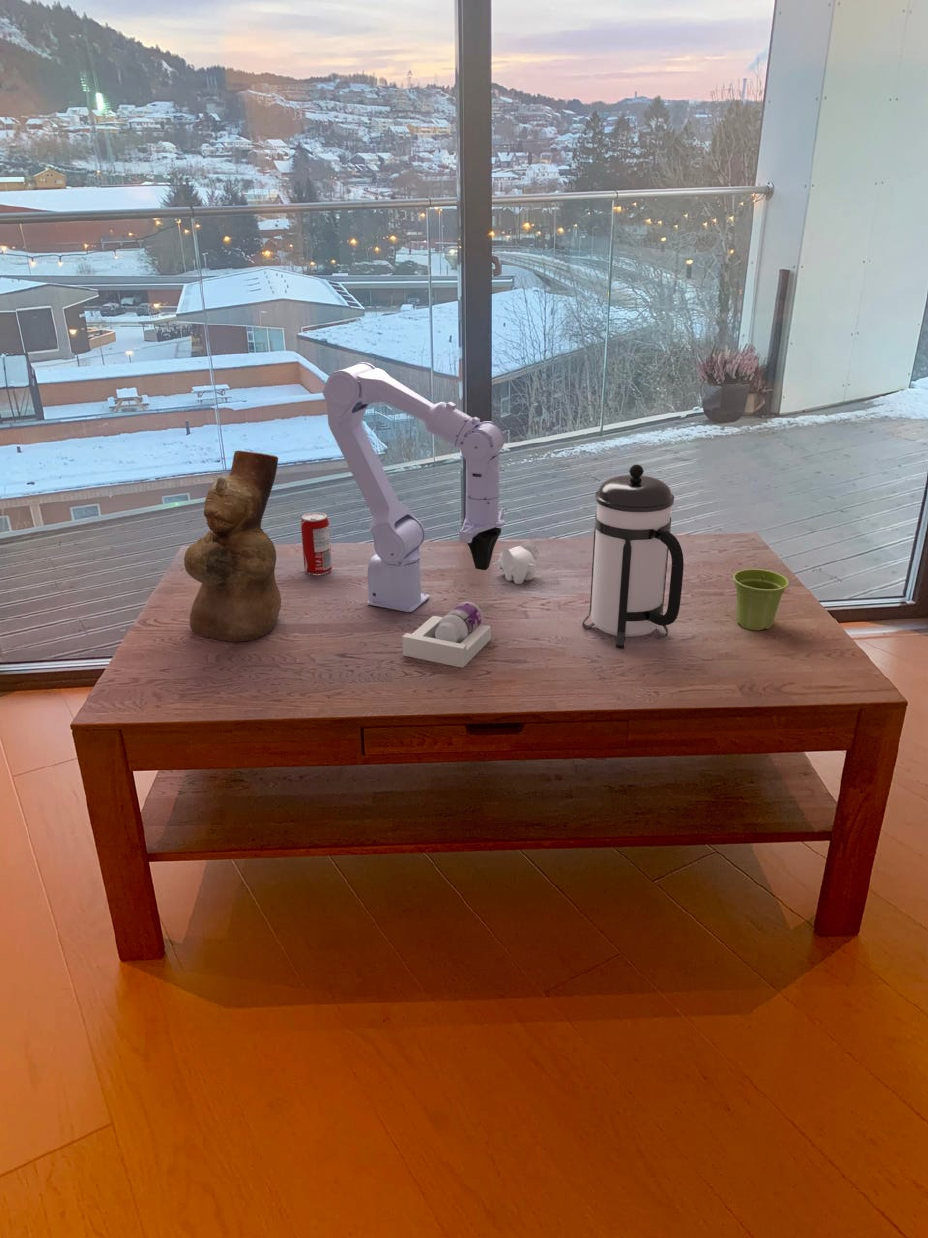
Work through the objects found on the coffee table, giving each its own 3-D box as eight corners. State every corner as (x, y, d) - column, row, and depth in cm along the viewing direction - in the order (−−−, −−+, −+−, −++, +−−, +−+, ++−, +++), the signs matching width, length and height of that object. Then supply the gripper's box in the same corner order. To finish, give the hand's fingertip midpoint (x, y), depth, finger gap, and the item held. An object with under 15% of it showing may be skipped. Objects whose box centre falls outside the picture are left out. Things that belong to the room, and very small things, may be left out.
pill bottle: (482, 632, 165) (457, 655, 157) (455, 623, 167) (429, 646, 159) (485, 605, 162) (461, 627, 155) (458, 596, 164) (432, 617, 156)
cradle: (403, 655, 158) (402, 636, 156) (433, 628, 167) (433, 610, 166) (462, 667, 154) (462, 648, 152) (490, 639, 163) (490, 621, 162)
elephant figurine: (510, 566, 194) (510, 533, 191) (546, 578, 188) (547, 545, 185) (484, 576, 189) (485, 543, 186) (521, 589, 183) (521, 555, 180)
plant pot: (785, 618, 171) (792, 573, 167) (778, 639, 163) (784, 592, 159) (732, 609, 174) (738, 565, 171) (723, 629, 166) (728, 584, 163)
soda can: (309, 565, 195) (304, 509, 190) (335, 566, 195) (331, 510, 190) (301, 575, 190) (296, 518, 185) (327, 576, 190) (323, 519, 185)
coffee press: (571, 645, 161) (579, 474, 148) (592, 609, 175) (601, 449, 162) (673, 661, 155) (691, 484, 143) (687, 622, 169) (704, 458, 156)
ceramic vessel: (172, 633, 166) (147, 467, 154) (252, 590, 184) (236, 437, 171) (243, 652, 159) (223, 479, 147) (319, 605, 177) (307, 447, 164)
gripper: (486, 510, 156) (485, 586, 161) (519, 486, 168) (518, 558, 173) (447, 504, 158) (448, 579, 164) (483, 481, 170) (483, 552, 176)
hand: (482, 568), depth 169 cm, fingers closed
